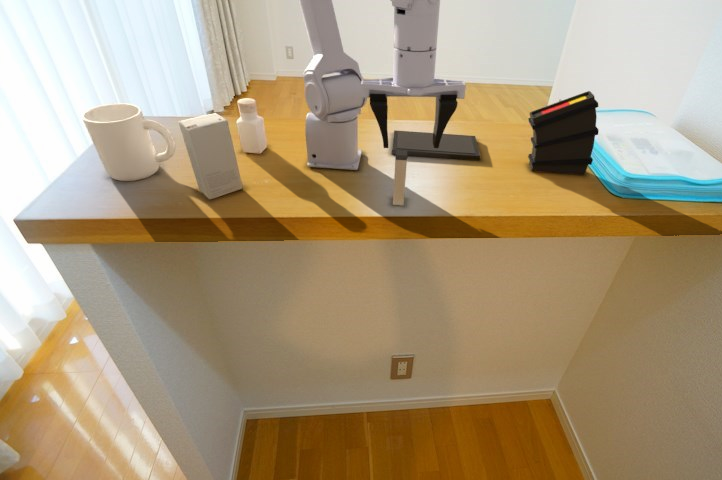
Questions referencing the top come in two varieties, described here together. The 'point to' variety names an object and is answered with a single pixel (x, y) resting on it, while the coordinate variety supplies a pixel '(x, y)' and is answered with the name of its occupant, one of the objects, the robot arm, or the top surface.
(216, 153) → the cosmetic box
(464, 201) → the top surface
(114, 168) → the mug
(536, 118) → the magazine
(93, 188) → the top surface
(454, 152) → the tray
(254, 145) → the pepper shaker
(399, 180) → the cream rectangular bar
